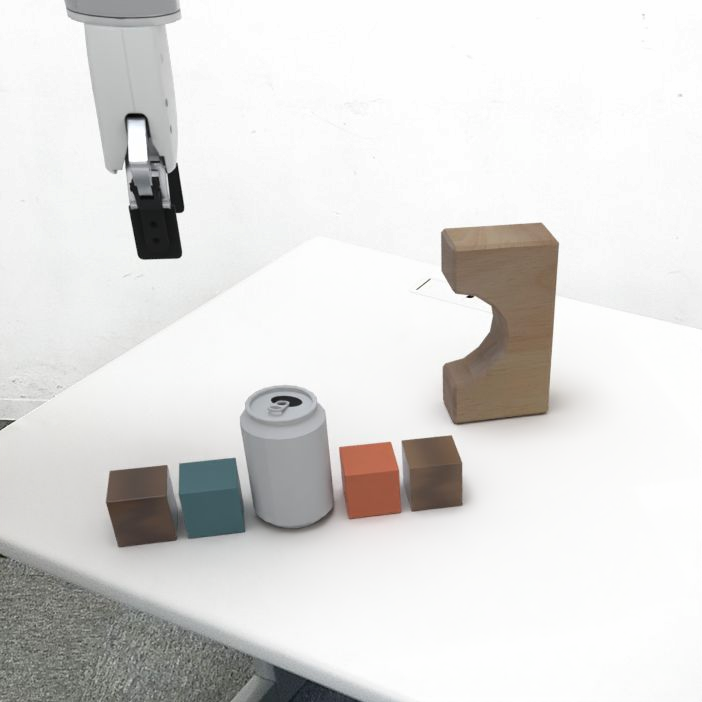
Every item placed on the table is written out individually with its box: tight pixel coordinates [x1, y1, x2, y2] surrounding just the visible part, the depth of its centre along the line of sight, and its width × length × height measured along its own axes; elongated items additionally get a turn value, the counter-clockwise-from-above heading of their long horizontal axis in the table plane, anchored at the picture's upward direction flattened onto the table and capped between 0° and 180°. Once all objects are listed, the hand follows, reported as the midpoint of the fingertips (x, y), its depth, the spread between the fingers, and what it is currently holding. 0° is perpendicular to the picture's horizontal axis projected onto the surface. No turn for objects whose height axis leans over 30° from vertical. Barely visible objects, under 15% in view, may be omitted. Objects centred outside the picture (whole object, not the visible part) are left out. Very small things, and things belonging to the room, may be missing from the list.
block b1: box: [105, 464, 178, 548], centre depth 87 cm, size 5×5×5 cm
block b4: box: [401, 434, 463, 512], centre depth 94 cm, size 5×5×5 cm
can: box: [239, 384, 335, 529], centre depth 88 cm, size 8×8×12 cm
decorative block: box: [440, 222, 560, 424], centre depth 103 cm, size 11×6×20 cm, turn 106°
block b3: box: [338, 441, 402, 520], centre depth 92 cm, size 5×5×5 cm
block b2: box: [178, 457, 246, 539], centre depth 89 cm, size 5×5×5 cm
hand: (163, 233), depth 77 cm, fingers open, 9 cm apart
